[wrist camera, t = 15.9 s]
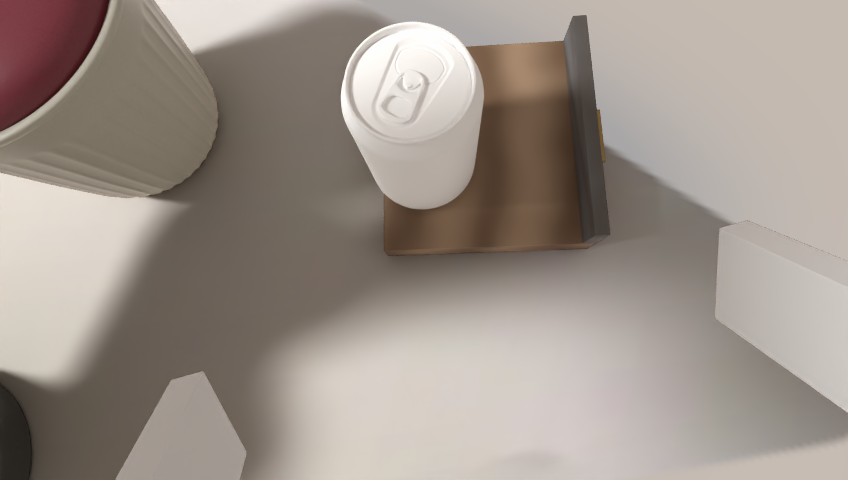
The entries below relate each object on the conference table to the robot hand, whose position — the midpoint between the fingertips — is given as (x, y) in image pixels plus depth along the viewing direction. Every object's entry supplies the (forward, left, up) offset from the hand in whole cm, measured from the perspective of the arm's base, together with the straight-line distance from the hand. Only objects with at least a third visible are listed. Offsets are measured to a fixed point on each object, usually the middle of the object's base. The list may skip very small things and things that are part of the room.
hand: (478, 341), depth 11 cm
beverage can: (-2, +13, -22) cm, 26 cm away
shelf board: (+2, +15, -24) cm, 29 cm away
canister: (-27, +18, -25) cm, 41 cm away
